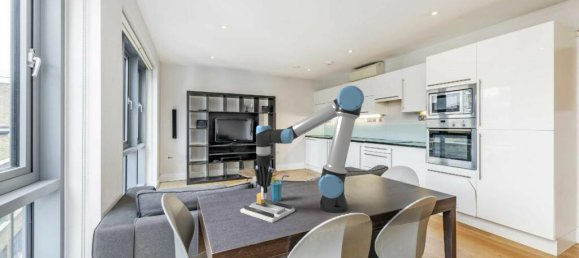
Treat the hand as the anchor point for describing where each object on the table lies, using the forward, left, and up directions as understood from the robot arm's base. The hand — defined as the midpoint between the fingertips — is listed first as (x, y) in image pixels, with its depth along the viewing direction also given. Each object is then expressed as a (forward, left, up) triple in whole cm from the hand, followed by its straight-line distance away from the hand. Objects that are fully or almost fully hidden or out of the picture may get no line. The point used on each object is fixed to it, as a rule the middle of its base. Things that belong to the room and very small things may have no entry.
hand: (263, 198), depth 125 cm
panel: (-3, 0, -6) cm, 7 cm away
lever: (+2, 0, -5) cm, 5 cm away
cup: (+5, -18, -7) cm, 20 cm away
